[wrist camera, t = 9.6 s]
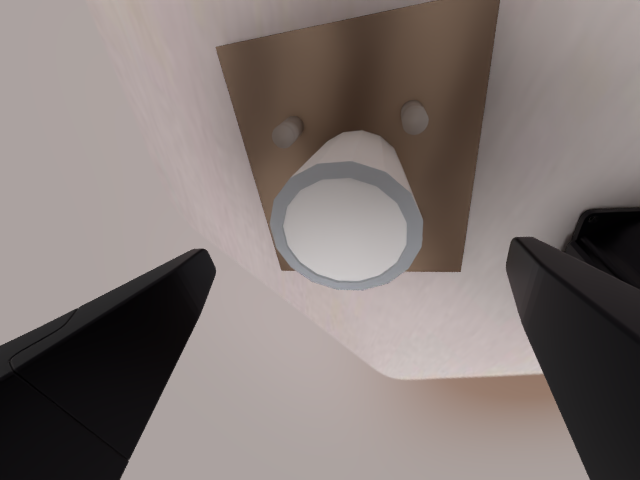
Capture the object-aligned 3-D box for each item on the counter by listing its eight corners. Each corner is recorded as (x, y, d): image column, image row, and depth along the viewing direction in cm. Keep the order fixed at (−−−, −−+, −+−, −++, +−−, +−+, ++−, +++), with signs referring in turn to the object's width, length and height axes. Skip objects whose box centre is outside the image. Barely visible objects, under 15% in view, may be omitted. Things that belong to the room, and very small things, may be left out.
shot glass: (420, 210, 19) (434, 284, 13) (323, 229, 21) (300, 299, 16) (400, 101, 16) (408, 138, 10) (287, 138, 18) (242, 186, 12)
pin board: (493, -10, 13) (522, -24, 10) (457, 261, 22) (467, 295, 19) (225, 46, 17) (191, 48, 14) (285, 261, 25) (272, 290, 23)
